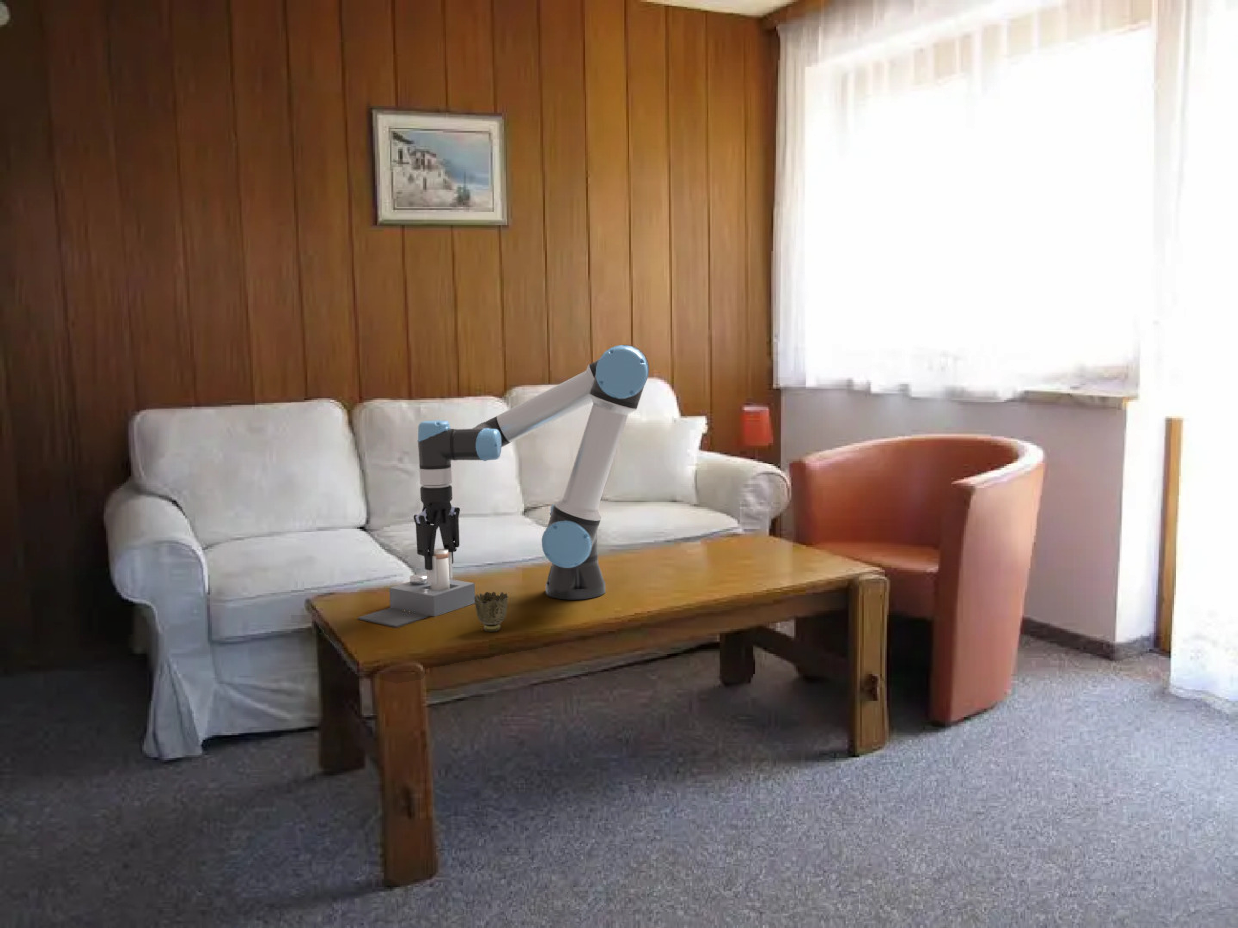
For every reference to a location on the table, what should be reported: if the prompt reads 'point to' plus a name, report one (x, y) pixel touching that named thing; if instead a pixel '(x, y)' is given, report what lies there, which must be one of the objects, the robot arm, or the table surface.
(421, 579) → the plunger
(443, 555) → the cylinder
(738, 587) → the table surface
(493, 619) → the cup
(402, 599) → the housing
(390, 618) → the mat
